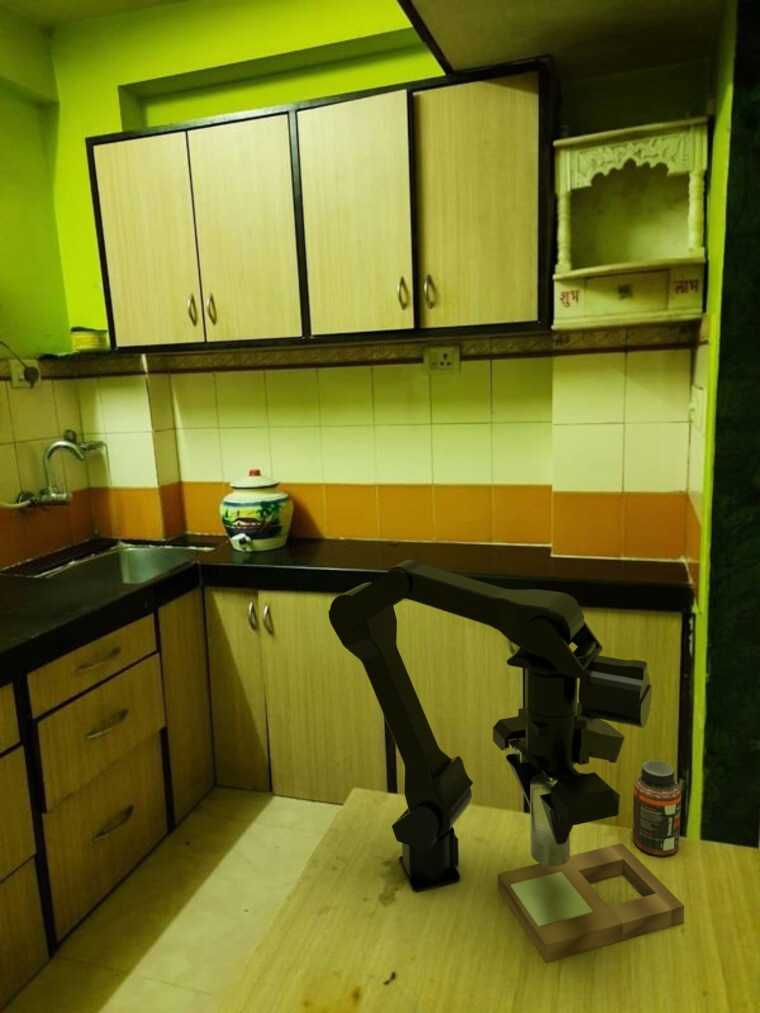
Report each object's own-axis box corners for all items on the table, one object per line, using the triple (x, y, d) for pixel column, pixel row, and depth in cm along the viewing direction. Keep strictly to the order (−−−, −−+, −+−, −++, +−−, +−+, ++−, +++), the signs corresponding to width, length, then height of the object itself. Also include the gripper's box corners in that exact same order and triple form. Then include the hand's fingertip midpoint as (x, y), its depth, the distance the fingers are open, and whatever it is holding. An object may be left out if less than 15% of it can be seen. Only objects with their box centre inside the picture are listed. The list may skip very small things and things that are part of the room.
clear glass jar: (542, 870, 80) (542, 798, 79) (523, 845, 85) (523, 777, 83) (577, 861, 82) (578, 790, 80) (556, 837, 86) (557, 769, 84)
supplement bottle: (683, 860, 93) (686, 781, 91) (635, 855, 94) (637, 778, 92) (674, 832, 99) (677, 757, 97) (629, 828, 100) (631, 754, 98)
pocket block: (545, 962, 78) (545, 943, 77) (497, 889, 89) (497, 872, 89) (683, 922, 83) (684, 904, 82) (621, 857, 94) (622, 841, 94)
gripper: (666, 732, 73) (661, 866, 76) (570, 664, 91) (568, 775, 94) (571, 751, 70) (569, 890, 73) (490, 677, 88) (491, 791, 91)
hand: (549, 830), depth 83 cm, fingers closed on clear glass jar, 4 cm apart
